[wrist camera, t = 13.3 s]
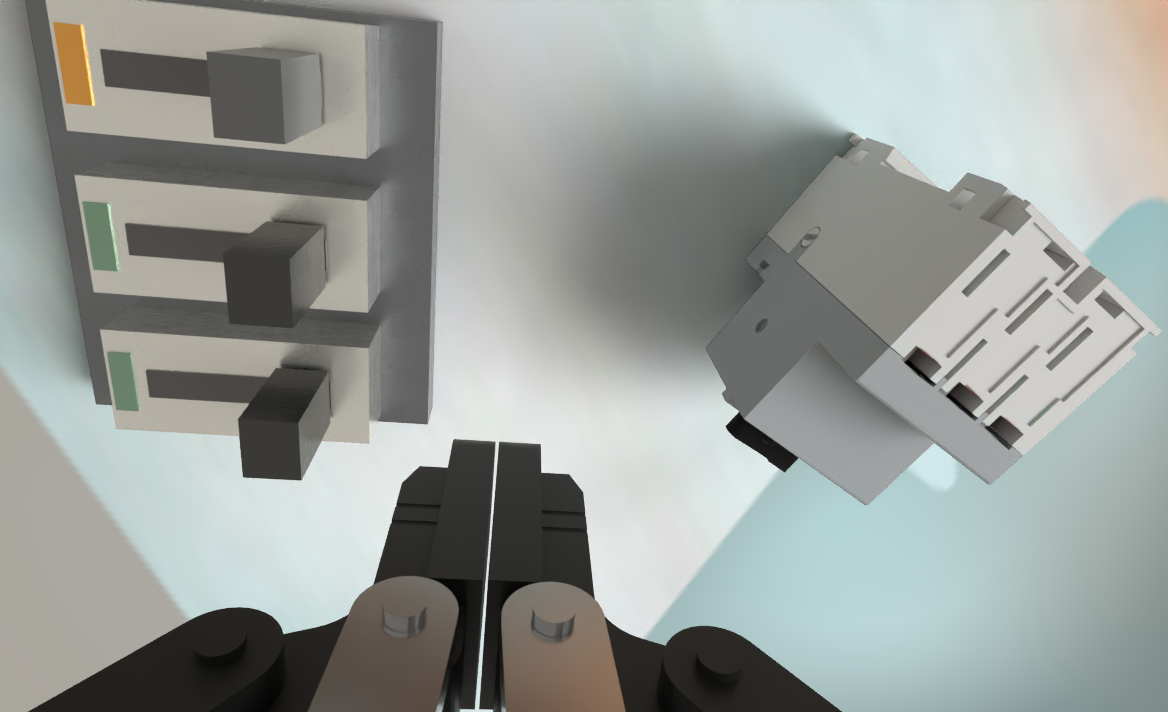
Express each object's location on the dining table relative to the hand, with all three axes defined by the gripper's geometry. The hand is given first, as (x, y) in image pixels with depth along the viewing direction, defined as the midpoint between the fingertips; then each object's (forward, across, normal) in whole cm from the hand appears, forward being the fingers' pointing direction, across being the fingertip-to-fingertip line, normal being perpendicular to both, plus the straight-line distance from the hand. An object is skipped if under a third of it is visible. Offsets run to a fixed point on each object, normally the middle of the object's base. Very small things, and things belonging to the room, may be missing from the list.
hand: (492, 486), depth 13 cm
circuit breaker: (+27, -16, +4) cm, 32 cm away
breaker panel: (+27, +12, +3) cm, 30 cm away
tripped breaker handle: (+22, +9, -4) cm, 24 cm away
